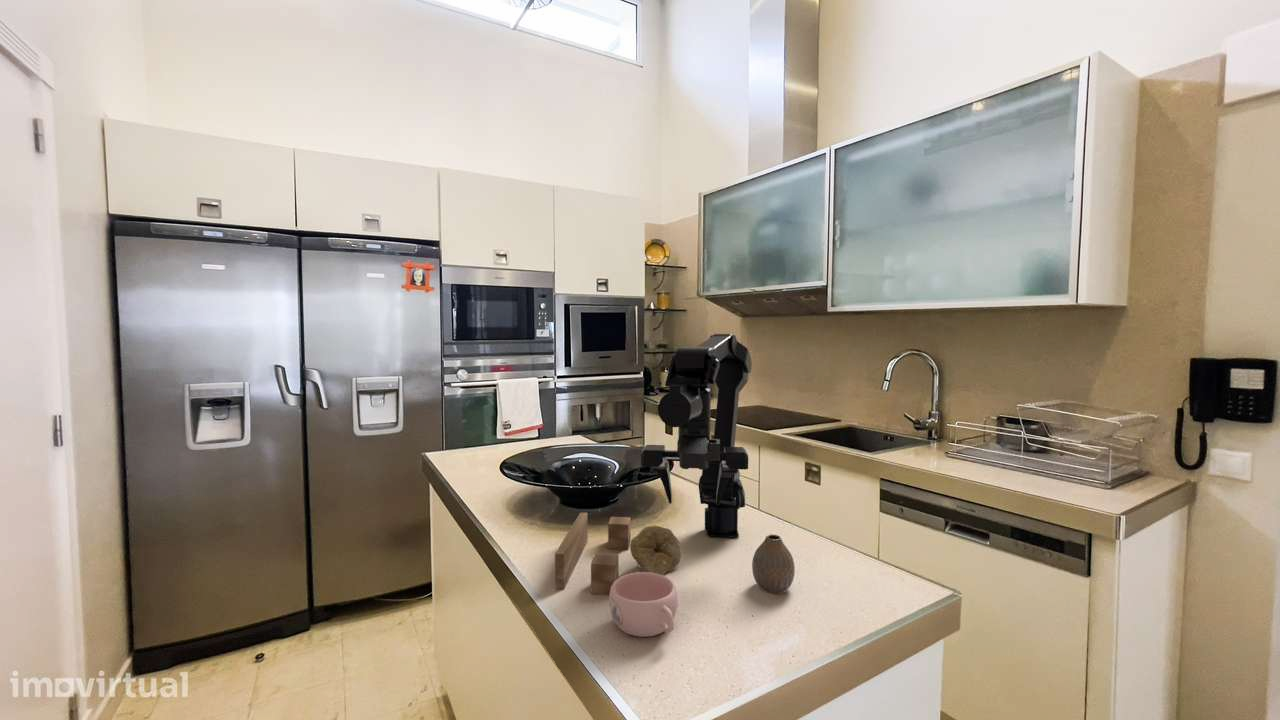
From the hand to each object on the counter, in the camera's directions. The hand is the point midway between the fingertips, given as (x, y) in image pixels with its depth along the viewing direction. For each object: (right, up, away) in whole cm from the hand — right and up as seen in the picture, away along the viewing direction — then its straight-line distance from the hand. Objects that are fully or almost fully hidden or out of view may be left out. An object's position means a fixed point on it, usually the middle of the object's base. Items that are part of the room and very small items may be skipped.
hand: (693, 503), depth 94 cm
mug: (-9, -13, -19) cm, 24 cm away
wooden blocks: (-18, -12, +2) cm, 22 cm away
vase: (+13, -13, -7) cm, 19 cm away
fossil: (-7, -12, +1) cm, 14 cm away
